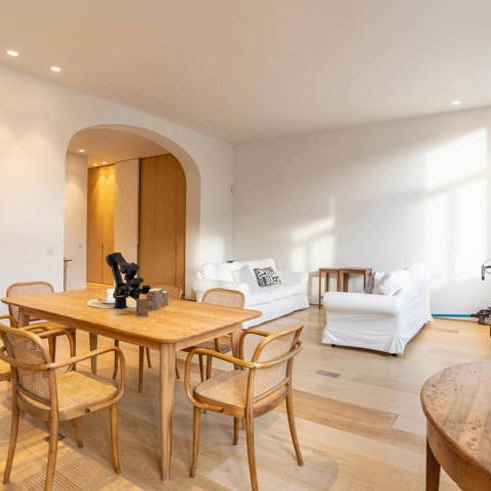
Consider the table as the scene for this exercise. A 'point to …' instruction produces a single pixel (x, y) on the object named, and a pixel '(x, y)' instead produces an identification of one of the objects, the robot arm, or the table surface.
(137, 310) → the walnut block
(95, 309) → the table surface
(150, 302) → the stack of blocks
